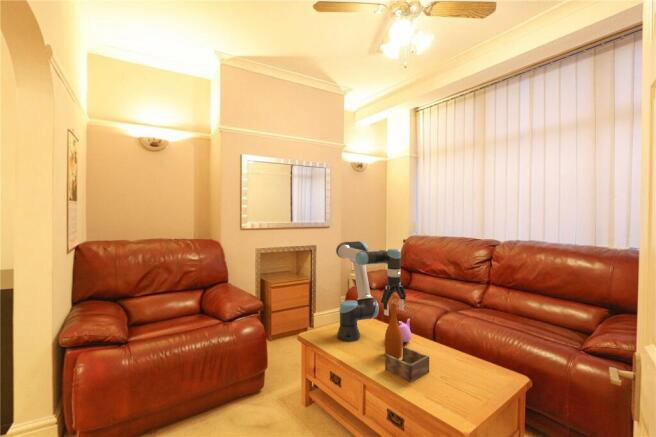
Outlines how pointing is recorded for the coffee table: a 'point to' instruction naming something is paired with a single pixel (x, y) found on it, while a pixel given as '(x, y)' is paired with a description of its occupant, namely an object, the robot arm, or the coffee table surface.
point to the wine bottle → (393, 335)
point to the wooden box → (408, 365)
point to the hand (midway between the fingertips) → (393, 312)
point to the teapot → (405, 331)
